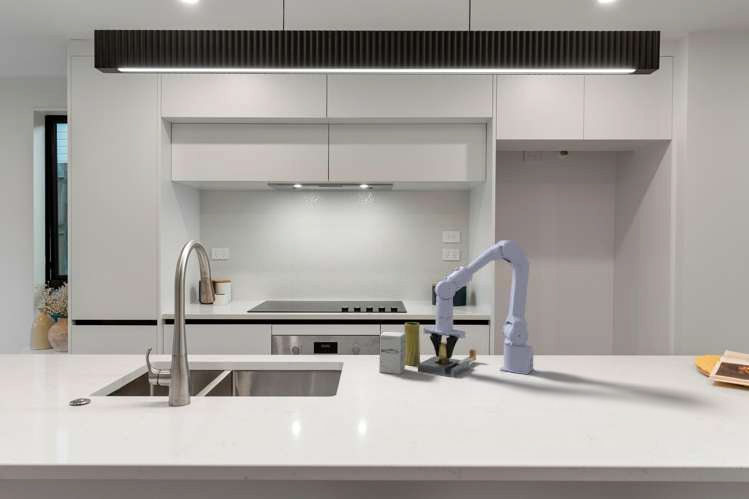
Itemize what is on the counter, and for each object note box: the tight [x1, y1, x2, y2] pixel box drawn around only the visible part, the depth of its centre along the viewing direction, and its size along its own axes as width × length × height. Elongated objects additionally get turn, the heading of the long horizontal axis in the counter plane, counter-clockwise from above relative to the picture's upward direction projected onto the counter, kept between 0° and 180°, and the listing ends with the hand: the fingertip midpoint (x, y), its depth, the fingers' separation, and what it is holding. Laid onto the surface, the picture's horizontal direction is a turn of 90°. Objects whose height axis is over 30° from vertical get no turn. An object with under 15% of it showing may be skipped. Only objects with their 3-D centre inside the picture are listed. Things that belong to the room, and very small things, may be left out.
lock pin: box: [457, 348, 477, 366], centre depth 178 cm, size 2×14×4 cm, turn 148°
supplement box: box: [378, 331, 406, 375], centre depth 171 cm, size 7×7×13 cm
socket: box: [417, 355, 470, 378], centre depth 173 cm, size 13×13×2 cm
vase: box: [404, 321, 421, 367], centre depth 181 cm, size 6×6×14 cm
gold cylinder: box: [438, 341, 449, 365], centre depth 172 cm, size 4×4×7 cm
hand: (443, 356), depth 172 cm, fingers closed on gold cylinder, 3 cm apart
